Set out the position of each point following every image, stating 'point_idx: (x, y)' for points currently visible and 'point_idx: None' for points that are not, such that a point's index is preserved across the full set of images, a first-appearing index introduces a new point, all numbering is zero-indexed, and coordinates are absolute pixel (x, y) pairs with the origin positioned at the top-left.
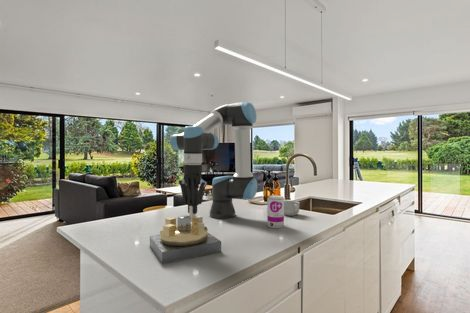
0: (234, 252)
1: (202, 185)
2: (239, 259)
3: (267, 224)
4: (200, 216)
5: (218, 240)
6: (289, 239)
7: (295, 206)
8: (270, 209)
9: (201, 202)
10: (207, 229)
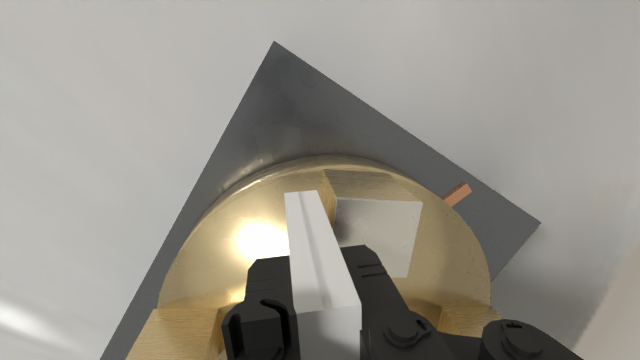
0: (557, 173)
1: None
2: (593, 227)
3: None
4: (400, 214)
5: (522, 219)
6: None
7: None
8: None
9: (561, 355)
10: (478, 243)
